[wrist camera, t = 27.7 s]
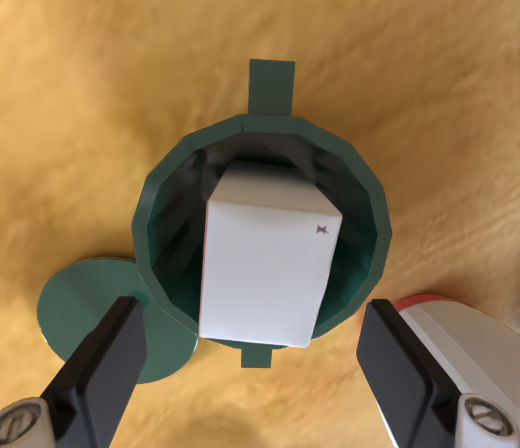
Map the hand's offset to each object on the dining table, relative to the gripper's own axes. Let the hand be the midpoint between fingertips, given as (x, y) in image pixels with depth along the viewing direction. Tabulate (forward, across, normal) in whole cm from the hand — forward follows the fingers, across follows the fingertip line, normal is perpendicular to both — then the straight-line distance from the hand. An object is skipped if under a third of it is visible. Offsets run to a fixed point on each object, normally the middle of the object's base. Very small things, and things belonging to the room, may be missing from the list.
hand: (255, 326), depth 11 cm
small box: (+16, -1, -1) cm, 16 cm away
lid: (+16, +14, +14) cm, 25 cm away
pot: (+16, -1, 0) cm, 16 cm away
